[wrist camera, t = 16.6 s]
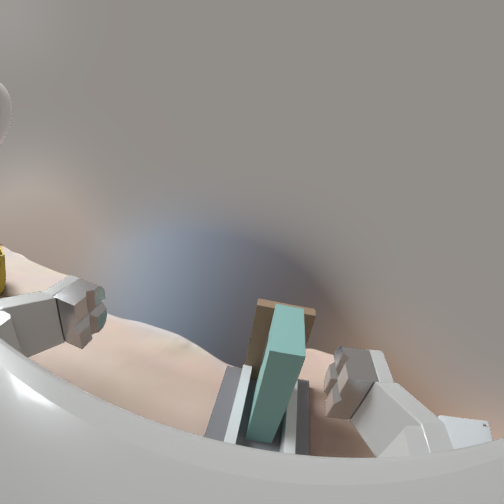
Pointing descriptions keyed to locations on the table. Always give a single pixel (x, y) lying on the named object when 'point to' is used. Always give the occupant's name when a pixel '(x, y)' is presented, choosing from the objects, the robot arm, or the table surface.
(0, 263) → the flower pot
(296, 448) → the track base
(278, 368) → the teal rectangular block
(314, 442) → the table surface
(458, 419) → the supplement box
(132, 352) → the table surface
